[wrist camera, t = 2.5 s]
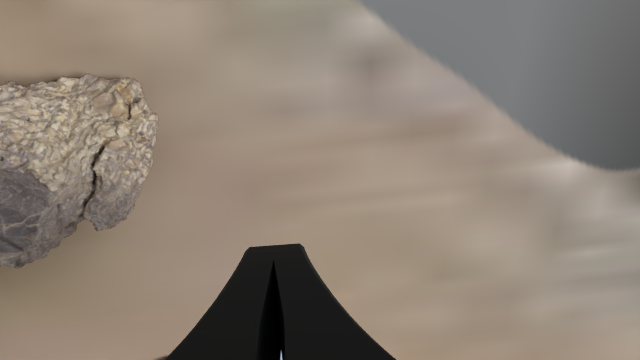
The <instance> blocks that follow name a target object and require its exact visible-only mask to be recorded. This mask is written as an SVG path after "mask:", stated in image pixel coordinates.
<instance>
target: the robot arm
mask: <svg viewBox="0 0 640 360" xmlns="http://www.w3.org/2000/svg"><path fill="white" fill-rule="evenodd" d="M165 360H396V359H395V358H393V357H392V356H391V355H390V354H389V353H388V352H387V351H386V350H384V349H383V348H382V347H381V346H380V345H379V344H378V343H377V342H375V341H374V340H373V339H372V338H371V337H370V336H369V335H368V334H367V333H366V332H365V331H364V330H363V329H362V328H361V327H360V326H359V325H358V324H357V323H356V322H355V320H354V319H353V318H352V317H351V316H350V315H349V314H348V313H347V311H346V310H345V309H344V308H343V307H342V306H341V304H340V303H339V302H338V301H337V300H336V298H335V297H334V296H333V294H332V293H331V292H330V290H329V289H328V288H327V286H326V285H325V283H324V282H323V281H322V279H321V278H320V276H319V275H318V273H317V272H316V270H315V268H314V267H313V265H312V263H311V262H310V260H309V258H308V256H307V254H306V252H305V249H304V247H303V246H302V245H301V244H286V245H273V246H259V247H249V248H248V249H247V251H246V252H245V253H244V255H243V257H242V259H241V261H240V263H239V265H238V266H237V268H236V270H235V271H234V273H233V275H232V276H231V278H230V279H229V281H228V282H227V284H226V285H225V287H224V288H223V290H222V291H221V293H220V294H219V296H218V297H217V299H216V300H215V301H214V303H213V304H212V305H211V307H210V308H209V309H208V310H207V312H206V313H205V314H204V316H203V317H202V318H201V319H200V321H199V322H198V323H197V325H196V326H195V327H194V328H193V329H192V331H191V332H190V333H189V334H188V335H187V336H186V338H185V339H184V340H183V341H182V342H181V343H180V344H179V345H178V346H177V347H176V348H175V350H174V351H173V352H172V353H171V354H170V355H169V356H168V357H167V358H166V359H165Z"/></svg>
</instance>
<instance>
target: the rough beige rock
mask: <svg viewBox="0 0 640 360" xmlns="http://www.w3.org/2000/svg"><path fill="white" fill-rule="evenodd" d="M143 97H144V94H143V92H142V84H141V83H140V82H138V81H137V80H136V79H135V78H133V79H130V78H128V77H126V78H125V79H123V80H122V79H120V78H118V79H117V78H113V79H111V80H106V79H103V78H100V77H99V78H97V77H96V76H93V75H90V74H86V75H84V76H82V77H81V78H79V79H77V78H67V77H60V78H58V79H57V81H56V82H49V83H47V84H46V83H44V82H43V81H41V82H39V83H36V84H30V86H29V87H27V88H26V87H23V86H21V85H20V84H19V83H17V82H13V81H8V82H7V81H6V82H5V85H3V86H0V265H2V264H5V265H6V266H9V267H15V268H20V267H22V266H24V265H25V264H26V263H31V262H33V261H34V260H35V259H40V258H44V257H46V256H47V253H48V252H49V250H50V249H51V248H56V247H57V246H59V243H60V240H61V239H63V238H65V237H67V236H69V235H71V234H72V233H73V232H74V231H75V230H76V226H77V224H78V223H79V222H81V221H82V220H84V219H87V220H90V221H91V222H92V223H93V225H94V229H95V230H96V231H99V230H104V229H108V228H112V227H115V226H116V225H117V224H118V223H119V222H121V221H122V220H125V219H126V217H127V216H128V215H129V214H130V213H131V212H132V210H133V209H134V206H135V205H134V202H135V201H136V199H137V198H138V196H139V194H140V191H141V189H142V184H143V181H145V180H146V177H147V176H148V173H149V170H150V169H151V167H152V165H153V158H152V153H153V146H154V145H155V143H156V140H157V139H156V136H155V135H156V132H157V130H156V128H157V127H158V125H159V124H158V120H159V119H158V115H157V114H156V113H153V112H151V109H150V108H149V107H148V104H147V103H146V100H145V99H144V98H143Z"/></svg>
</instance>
